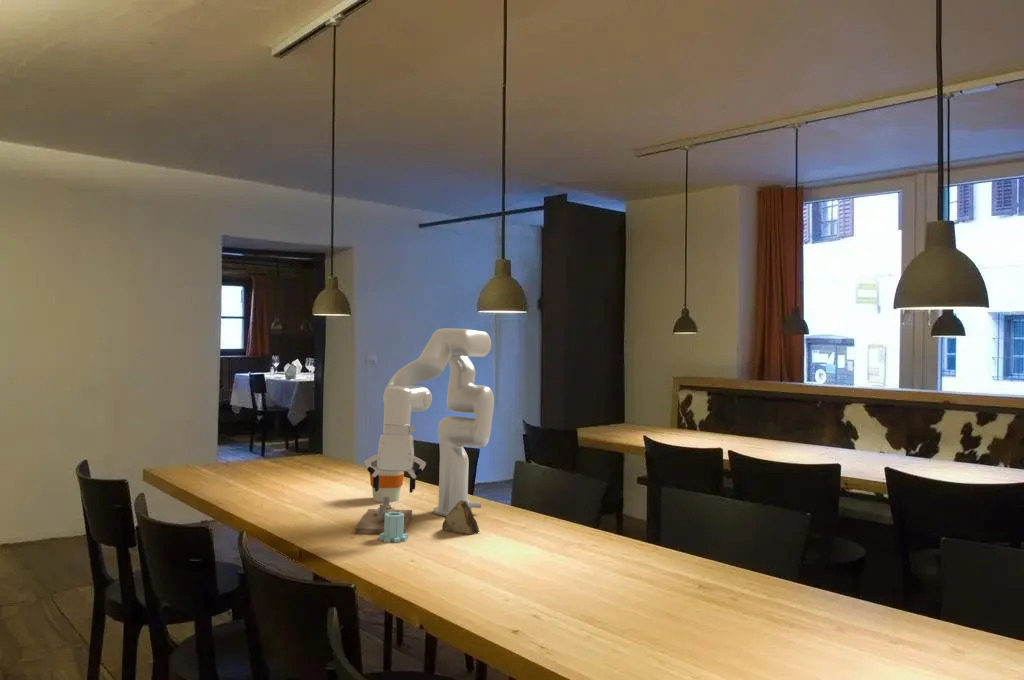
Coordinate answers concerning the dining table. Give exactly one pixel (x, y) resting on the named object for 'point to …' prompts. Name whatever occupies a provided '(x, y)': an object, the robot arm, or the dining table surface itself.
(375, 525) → the gear board
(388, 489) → the reusable coffee cup
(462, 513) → the rock
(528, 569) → the dining table surface
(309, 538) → the dining table surface
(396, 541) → the loose cog
